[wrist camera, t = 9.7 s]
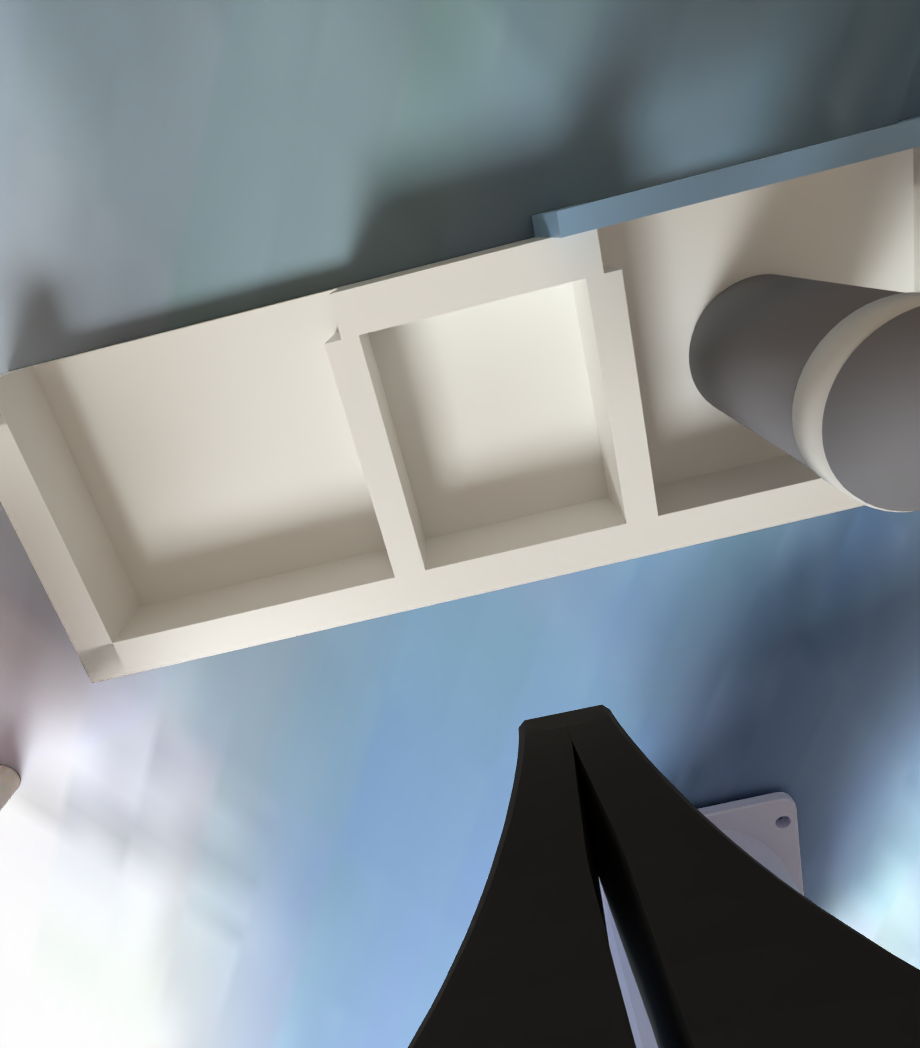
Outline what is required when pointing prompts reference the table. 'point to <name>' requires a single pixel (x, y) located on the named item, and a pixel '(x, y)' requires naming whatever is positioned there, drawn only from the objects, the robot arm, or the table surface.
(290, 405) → the compartment tray
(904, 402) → the plug
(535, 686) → the table surface
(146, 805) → the table surface
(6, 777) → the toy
